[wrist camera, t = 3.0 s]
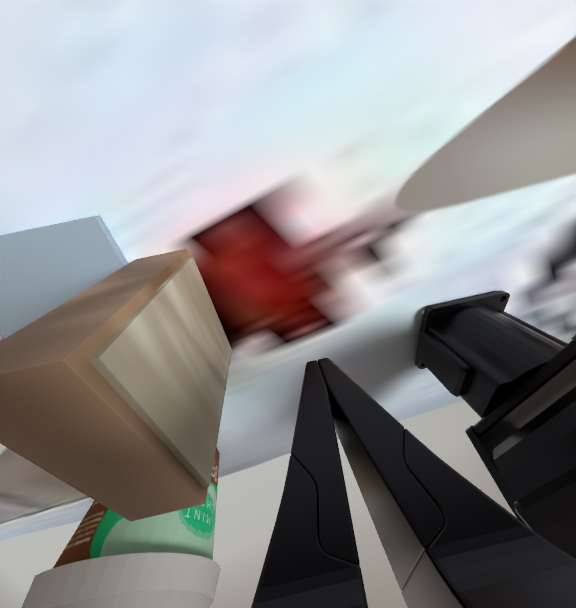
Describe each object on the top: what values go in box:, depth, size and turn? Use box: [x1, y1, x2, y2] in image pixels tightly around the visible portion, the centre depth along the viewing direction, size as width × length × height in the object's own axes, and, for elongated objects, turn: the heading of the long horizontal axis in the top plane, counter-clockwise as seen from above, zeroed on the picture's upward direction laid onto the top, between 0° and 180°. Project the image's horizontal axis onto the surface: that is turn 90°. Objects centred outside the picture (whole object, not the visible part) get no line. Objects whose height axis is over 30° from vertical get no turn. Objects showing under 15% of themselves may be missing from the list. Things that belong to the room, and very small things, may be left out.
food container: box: [22, 447, 220, 608], centre depth 17 cm, size 12×6×10 cm, turn 37°
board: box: [0, 215, 128, 339], centre depth 14 cm, size 9×13×1 cm
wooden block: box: [0, 249, 232, 522], centre depth 10 cm, size 3×8×9 cm, turn 10°
